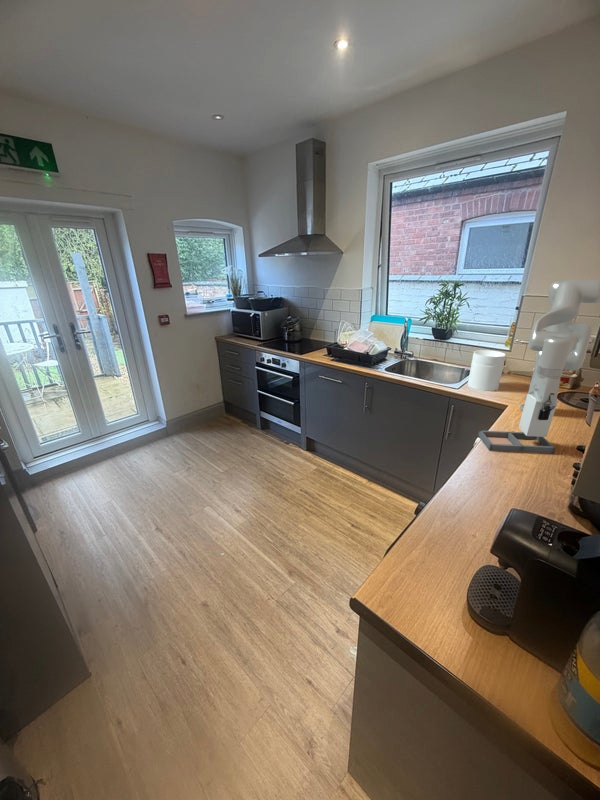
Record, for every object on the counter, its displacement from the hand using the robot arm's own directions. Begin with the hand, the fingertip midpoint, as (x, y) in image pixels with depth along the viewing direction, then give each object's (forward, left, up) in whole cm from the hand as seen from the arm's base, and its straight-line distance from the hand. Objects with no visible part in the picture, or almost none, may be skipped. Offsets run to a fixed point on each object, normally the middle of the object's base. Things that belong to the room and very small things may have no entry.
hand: (537, 414), depth 125 cm
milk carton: (0, 0, -8) cm, 8 cm away
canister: (-68, +7, -13) cm, 70 cm away
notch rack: (+1, -6, -13) cm, 14 cm away
